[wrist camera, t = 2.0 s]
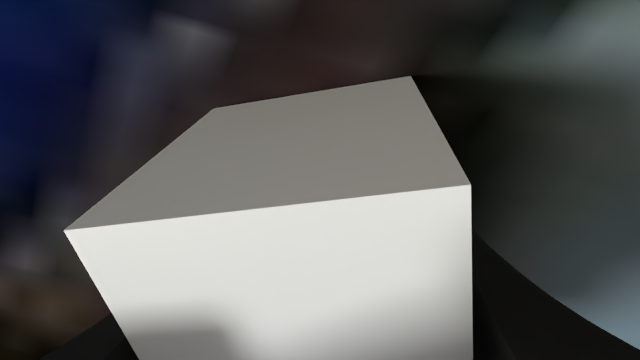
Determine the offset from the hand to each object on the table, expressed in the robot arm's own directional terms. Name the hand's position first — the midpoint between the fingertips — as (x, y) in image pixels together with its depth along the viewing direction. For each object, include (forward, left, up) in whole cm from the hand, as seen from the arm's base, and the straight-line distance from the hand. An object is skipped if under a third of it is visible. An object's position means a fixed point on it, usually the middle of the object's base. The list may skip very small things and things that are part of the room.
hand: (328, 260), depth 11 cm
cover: (0, 0, -2) cm, 2 cm away
